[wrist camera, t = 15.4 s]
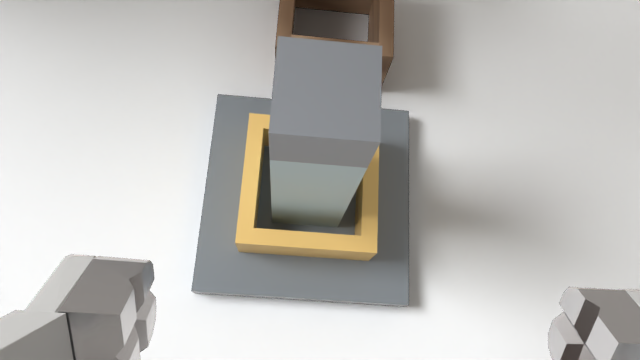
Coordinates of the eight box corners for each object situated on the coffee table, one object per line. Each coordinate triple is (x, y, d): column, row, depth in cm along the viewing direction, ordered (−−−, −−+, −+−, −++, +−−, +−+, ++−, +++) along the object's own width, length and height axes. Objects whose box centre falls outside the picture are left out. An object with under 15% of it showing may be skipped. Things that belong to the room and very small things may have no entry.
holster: (275, 82, 38) (275, 45, 34) (283, -5, 41) (284, -51, 36) (379, 92, 39) (393, 56, 34) (381, 5, 41) (394, -39, 37)
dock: (194, 293, 33) (183, 285, 29) (219, 101, 38) (212, 72, 34) (404, 306, 34) (421, 301, 30) (404, 117, 38) (419, 91, 34)
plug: (272, 222, 34) (268, 132, 20) (277, 161, 35) (277, 35, 21) (337, 227, 34) (380, 142, 20) (340, 166, 35) (382, 46, 21)
